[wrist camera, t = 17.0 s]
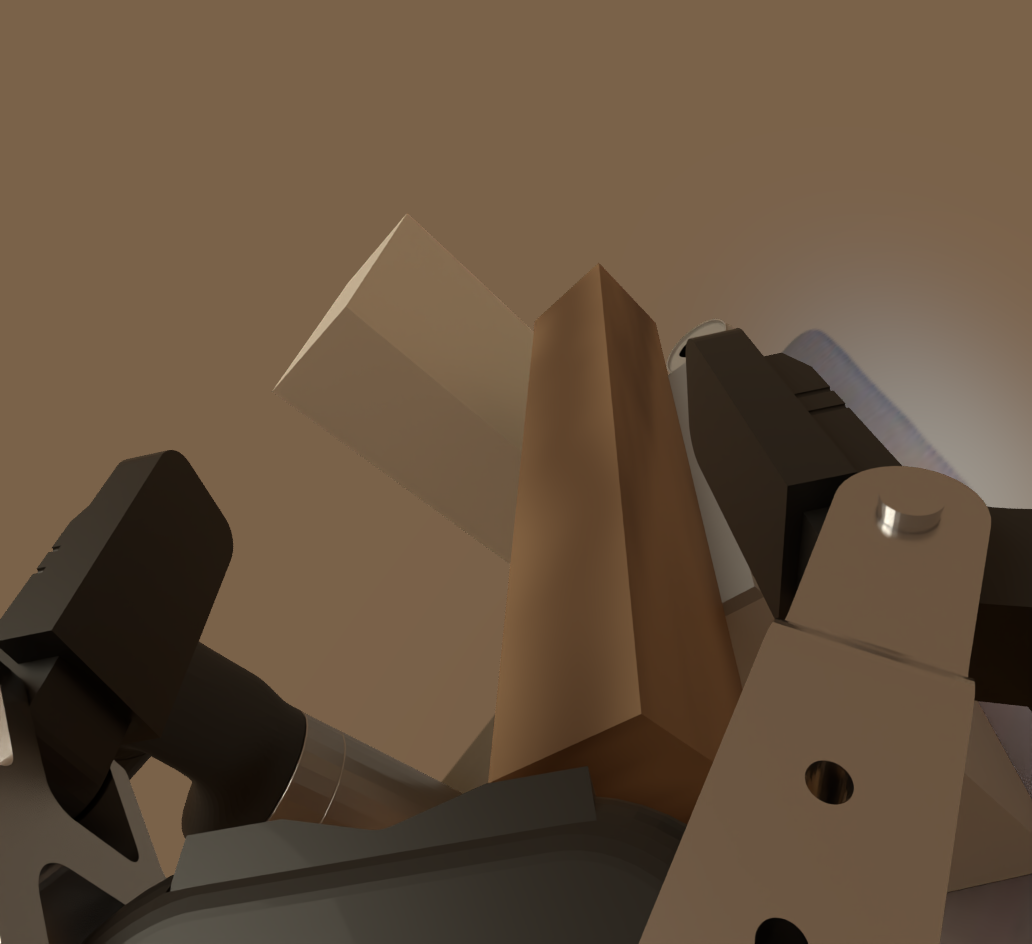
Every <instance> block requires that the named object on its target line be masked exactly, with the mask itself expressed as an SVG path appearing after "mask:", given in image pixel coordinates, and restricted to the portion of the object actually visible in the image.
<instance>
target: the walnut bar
mask: <svg viewBox="0 0 1032 944" xmlns="http://www.w3.org/2000/svg"><path fill="white" fill-rule="evenodd" d="M742 690H743V689H742V684H741V680H740V676H739V672H738V668H737V663H736V659H735V655H734V651H733V647H732V642H731V638H730V634H729V630H728V625H727V621H726V617H725V613H724V609H723V604H722V600H721V596H720V592H719V588H718V583H717V579H716V575H715V571H714V567H713V562H712V558H711V554H710V550H709V545H708V541H707V537H706V533H705V529H704V524H703V520H702V516H701V512H700V508H699V503H698V499H697V495H696V491H695V487H694V482H693V478H692V474H691V470H690V465H689V461H688V457H687V453H686V449H685V444H684V440H683V436H682V432H681V428H680V423H679V419H678V415H677V411H676V407H675V402H674V398H673V394H672V390H671V385H670V381H669V377H668V373H667V369H666V365H665V361H664V356H663V352H662V348H661V344H660V339H659V335H658V331H657V327H656V323H655V322H654V321H653V320H652V319H651V318H650V317H649V315H648V314H647V313H646V312H645V311H644V310H643V309H642V308H641V307H640V306H639V305H638V304H637V303H636V302H635V301H634V300H633V299H632V298H631V296H630V295H629V294H628V293H627V292H626V291H625V290H624V289H623V288H622V287H621V286H620V285H619V284H618V283H617V282H616V281H615V279H614V278H613V277H612V276H611V275H610V274H609V273H608V272H607V271H606V270H605V269H604V268H603V267H602V266H601V265H600V264H599V263H598V264H597V265H596V266H595V267H594V268H593V269H591V270H590V271H589V272H588V273H587V274H586V275H585V276H584V277H583V278H582V279H580V280H579V281H578V282H577V283H576V284H575V285H574V286H573V287H572V288H571V289H570V290H568V291H567V292H566V293H565V294H564V295H563V296H562V297H561V298H560V299H559V300H557V301H556V302H555V303H554V304H553V305H552V306H551V307H550V308H549V309H548V310H547V311H545V312H544V313H543V314H542V315H541V316H540V317H539V318H538V319H537V320H536V321H535V324H534V334H533V344H532V354H531V364H530V374H529V383H528V393H527V403H526V413H525V423H524V433H523V443H522V453H521V463H520V473H519V483H518V493H517V503H516V513H515V522H514V532H513V542H512V552H511V562H510V572H509V582H508V592H507V602H506V612H505V622H504V632H503V642H502V652H501V662H500V671H499V681H498V691H497V702H496V712H495V721H494V731H493V741H492V751H491V761H490V771H489V781H488V783H493V782H498V781H504V780H510V779H516V778H522V777H527V776H533V775H539V774H545V773H550V772H556V771H562V770H568V769H573V768H579V767H585V766H588V768H589V772H590V775H591V779H592V783H593V787H594V790H595V794H596V796H597V797H606V798H615V799H621V800H625V801H629V802H633V803H637V804H641V805H644V806H647V807H650V808H652V809H655V810H657V811H660V812H663V813H665V814H668V815H670V816H672V817H674V818H676V819H677V820H679V821H681V822H683V823H685V824H688V822H689V820H690V817H691V815H692V812H693V810H694V807H695V805H696V803H697V800H698V798H699V795H700V793H701V790H702V788H703V785H704V783H705V781H706V778H707V776H708V773H709V771H710V768H711V766H712V764H713V761H714V759H715V756H716V754H717V751H718V749H719V746H720V744H721V742H722V739H723V737H724V734H725V732H726V729H727V727H728V725H729V722H730V720H731V717H732V715H733V712H734V710H735V707H736V705H737V703H738V700H739V698H740V695H741V693H742Z"/></svg>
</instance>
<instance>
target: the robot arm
mask: <svg viewBox="0 0 1032 944" xmlns="http://www.w3.org/2000/svg"><path fill="white" fill-rule="evenodd" d="M686 374H687V395H688V415H689V430H690V437H691V442H692V447H693V451H694V454H695V457H696V460H697V463H698V465H699V467H700V469H701V471H702V473H703V475H704V477H705V479H706V481H707V483H708V485H709V487H710V489H711V491H712V493H713V495H714V497H715V499H716V501H717V503H718V505H719V507H720V510H721V512H722V514H723V516H724V518H725V520H726V522H727V524H728V526H729V528H730V530H731V532H732V534H733V536H734V538H735V540H736V542H737V544H738V546H739V548H740V550H741V552H742V554H743V556H744V558H745V560H746V562H747V564H748V566H749V568H750V570H751V572H752V574H753V576H754V578H755V580H756V582H757V584H758V586H759V588H760V590H761V593H762V595H763V597H764V599H765V601H766V603H767V605H768V607H769V609H770V611H771V613H772V615H773V617H774V619H775V620H774V621H773V622H772V624H771V625H770V627H769V629H768V631H767V633H766V635H765V637H764V639H763V642H762V644H761V647H760V649H759V651H758V654H757V656H756V659H755V661H754V664H753V666H752V668H751V671H750V673H749V676H748V678H747V681H746V683H745V686H744V688H743V690H742V693H741V695H740V698H739V700H738V703H737V705H736V707H735V710H734V712H733V715H732V717H731V720H730V722H729V725H728V727H727V729H726V732H725V734H724V737H723V739H722V742H721V744H720V746H719V749H718V751H717V754H716V756H715V759H714V761H713V764H712V766H711V768H710V771H709V773H708V776H707V778H706V781H705V783H704V785H703V788H702V790H701V793H700V795H699V798H698V800H697V803H696V805H695V807H694V810H693V812H692V815H691V817H690V820H689V822H688V824H685V823H683V822H681V821H679V820H677V819H676V818H674V817H672V816H670V815H668V814H665V813H663V812H660V811H657V810H655V809H652V808H650V807H647V806H644V805H641V804H637V803H633V802H629V801H625V800H621V799H615V798H606V797H597V796H596V794H595V790H594V787H593V783H592V779H591V775H590V772H589V768H588V766H585V767H579V768H573V769H568V770H562V771H556V772H550V773H545V774H539V775H533V776H527V777H522V778H516V779H510V780H504V781H498V782H493V783H487V784H484V785H482V786H480V787H478V788H475V789H473V790H471V791H469V792H466V793H464V794H463V793H461V792H459V791H457V790H455V789H453V788H451V787H449V786H447V785H446V784H444V783H442V782H440V781H438V780H436V779H434V778H432V777H430V776H428V775H426V774H424V773H422V772H420V771H418V770H416V769H414V768H412V767H410V766H408V765H406V764H404V763H402V762H400V761H398V760H396V759H394V758H392V757H390V756H389V755H386V754H384V753H383V752H381V751H379V750H377V749H375V748H373V747H371V746H369V745H367V744H365V743H363V742H361V741H359V740H357V739H355V738H353V737H351V736H349V735H347V734H345V733H343V732H341V731H339V730H337V729H335V728H333V727H331V726H329V725H327V724H325V723H323V722H321V721H319V720H317V719H315V718H313V717H312V716H310V715H308V714H306V713H304V712H302V711H300V710H299V709H297V708H294V707H293V706H291V705H289V704H288V703H286V702H285V701H283V700H282V699H281V698H280V697H279V696H278V695H277V694H276V693H275V692H274V691H273V690H272V689H271V688H270V687H269V686H268V685H267V684H266V683H265V682H264V681H262V680H261V679H260V678H259V677H257V676H256V675H254V674H252V673H251V672H249V671H247V670H246V669H244V668H242V667H240V666H239V665H237V664H235V663H233V662H232V661H230V660H229V659H227V658H225V657H224V656H222V655H220V654H218V653H217V652H215V651H213V650H212V649H210V648H208V647H207V646H205V645H204V644H202V643H200V642H199V639H200V636H201V634H202V631H203V629H204V626H205V624H206V621H207V619H208V616H209V614H210V611H211V609H212V606H213V603H214V601H215V598H216V596H217V593H218V591H219V588H220V586H221V583H222V581H223V578H224V576H225V573H226V571H227V568H228V566H229V563H230V561H231V557H232V553H233V539H232V534H231V530H230V527H229V524H228V522H227V520H226V519H225V517H224V516H223V514H222V513H221V511H220V509H219V508H218V506H217V505H216V503H215V502H214V500H213V499H212V497H211V496H210V494H209V492H208V491H207V489H206V488H205V486H204V485H203V483H202V482H201V480H200V479H199V477H198V475H197V474H196V472H195V471H194V469H193V468H192V466H191V465H190V463H189V462H188V461H187V459H186V458H185V457H184V456H183V455H182V454H181V453H179V452H177V451H174V450H168V451H163V452H158V453H154V454H149V455H145V456H140V457H135V458H131V459H126V460H124V461H122V462H120V463H119V465H118V466H117V467H116V469H115V470H114V471H113V473H112V474H111V476H110V477H109V478H108V480H107V481H106V483H105V484H104V485H103V487H102V488H101V490H100V491H99V493H98V494H97V495H96V497H95V498H94V500H93V501H92V502H91V504H90V505H89V506H88V507H87V508H86V509H85V510H83V511H82V512H81V513H80V514H79V515H78V516H77V517H76V518H74V519H73V520H72V521H71V522H70V523H69V525H68V526H67V527H66V529H65V530H64V532H63V533H62V534H61V536H60V537H59V539H58V540H57V541H56V543H55V544H54V546H53V547H52V548H53V552H49V553H48V554H47V555H46V557H45V558H44V559H43V561H42V562H41V564H40V565H39V566H38V568H37V570H38V573H36V574H33V575H32V576H31V577H30V579H29V580H28V582H27V583H26V584H25V586H24V587H23V589H22V590H21V592H20V593H19V594H18V595H17V597H16V598H15V600H14V601H13V603H12V604H11V605H10V607H9V608H8V609H7V611H6V612H5V614H4V615H3V616H2V618H1V619H0V944H940V937H941V930H942V923H943V916H944V909H945V902H946V895H947V888H948V881H949V875H950V868H951V861H952V854H953V847H954V840H955V833H956V826H957V819H958V812H959V805H960V798H961V791H962V784H963V777H964V770H965V763H966V756H967V750H968V743H969V736H970V729H971V722H972V715H973V707H974V701H983V702H992V703H1000V704H1009V705H1018V706H1027V707H1029V709H1030V710H1031V711H1032V509H1007V508H994V507H987V506H986V504H985V503H984V501H983V500H982V499H981V498H980V497H979V496H978V495H977V493H975V492H974V491H973V490H971V489H970V488H969V487H968V486H966V485H964V484H963V483H961V482H959V481H958V480H955V479H953V478H951V477H949V476H946V475H944V474H941V473H938V472H935V471H931V470H926V469H922V468H915V467H907V466H902V465H901V464H900V463H899V462H898V461H897V460H896V459H895V458H894V456H893V455H892V454H891V453H890V452H889V451H888V450H887V449H886V448H885V447H884V445H883V444H882V443H881V442H880V441H879V440H878V439H877V438H876V437H875V436H874V435H873V433H872V432H871V431H870V430H869V429H868V428H867V427H866V426H865V425H864V424H863V422H862V421H861V420H860V419H859V418H858V417H857V416H856V415H855V414H854V413H853V412H852V410H851V409H850V408H846V407H845V403H844V402H843V401H842V399H841V398H840V397H839V396H838V395H837V394H836V393H835V392H834V391H830V386H829V385H828V384H827V383H826V382H825V381H824V380H823V379H822V378H821V376H820V375H819V374H818V373H817V372H816V371H815V370H814V369H813V368H812V367H811V366H809V365H807V364H805V363H803V362H800V361H798V360H796V359H794V358H792V357H790V356H787V355H785V354H783V353H778V354H773V355H769V356H763V355H762V354H761V353H760V351H759V350H758V349H757V348H756V346H755V345H754V344H753V343H752V341H751V340H750V339H749V338H748V337H747V335H746V334H745V333H744V332H743V331H742V330H741V329H740V328H736V329H731V330H727V331H722V332H717V333H713V334H708V335H703V336H699V337H694V338H690V339H688V340H687V343H686ZM151 756H152V757H154V758H156V759H158V760H159V761H161V762H163V763H165V764H167V765H169V766H170V767H172V768H174V769H176V770H178V771H179V772H181V773H182V774H184V775H185V776H187V777H188V778H189V779H190V780H191V781H192V785H191V787H190V790H189V793H188V797H187V800H186V803H185V806H184V810H183V816H182V832H183V835H184V837H185V838H186V840H185V843H184V846H183V849H182V852H181V855H180V858H179V861H178V865H177V868H176V871H175V874H174V875H172V876H170V877H168V878H166V877H165V875H164V874H163V871H162V869H161V867H160V864H159V861H158V858H157V856H156V853H155V850H154V847H153V845H152V842H151V839H150V836H149V833H148V830H147V828H146V825H145V822H144V819H143V817H142V814H141V811H140V808H139V806H138V803H137V800H136V797H135V794H134V792H133V789H132V786H131V783H130V779H131V778H132V777H133V775H135V774H136V772H137V771H138V770H139V769H140V768H141V767H142V766H143V764H144V763H145V762H146V761H147V760H148V759H149V758H150V757H151Z"/></svg>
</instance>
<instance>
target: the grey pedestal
mask: <svg viewBox="0 0 1032 944" xmlns="http://www.w3.org/2000/svg"><path fill="white" fill-rule="evenodd" d="M668 377H669V381H670V385H671V390H672V394H673V398H674V402H675V407H676V411H677V415H678V419H679V423H680V428H681V432H682V436H683V440H684V444H685V449H686V453H687V457H688V461H689V465H690V470H691V474H692V478H693V482H694V487H695V491H696V495H697V499H698V503H699V508H700V512H701V516H702V520H703V524H704V529H705V533H706V537H707V541H708V545H709V550H710V554H711V558H712V562H713V567H714V571H715V575H716V579H717V583H718V588H719V592H720V596H721V600H722V604H723V609H724V613H725V617H726V621H727V625H728V630H729V634H730V638H731V642H732V647H733V651H734V655H735V659H736V663H737V668H738V672H739V676H740V680H741V684H742V689H743V688H744V686H745V683H746V681H747V678H748V676H749V673H750V671H751V668H752V666H753V664H754V661H755V659H756V656H757V654H758V651H759V649H760V647H761V644H762V642H763V639H764V637H765V635H766V633H767V631H768V629H769V627H770V625H771V624H772V622H773V621H774V620H775V619H774V617H773V615H772V613H771V611H770V609H769V607H768V605H767V603H766V601H765V599H764V597H763V595H762V593H761V590H760V588H759V586H758V584H757V582H756V580H755V578H754V576H753V574H752V572H751V570H750V568H749V566H748V564H747V562H746V560H745V558H744V556H743V554H742V552H741V550H740V548H739V546H738V544H737V542H736V540H735V538H734V536H733V534H732V532H731V530H730V528H729V526H728V524H727V522H726V520H725V518H724V516H723V514H722V512H721V510H720V507H719V505H718V503H717V501H716V499H715V497H714V495H713V493H712V491H711V489H710V487H709V485H708V483H707V481H706V479H705V477H704V475H703V473H702V471H701V469H700V467H699V465H698V463H697V460H696V457H695V454H694V451H693V447H692V442H691V437H690V430H689V415H688V395H687V374H686V362H685V363H684V364H683V365H681V366H680V367H679V368H677V369H676V370H675V371H673V372H672V373H671V374H669V375H668ZM1028 874H1032V799H1031V797H1030V795H1029V794H1028V792H1027V790H1026V788H1025V786H1024V784H1023V783H1022V781H1021V779H1020V777H1019V775H1018V774H1017V772H1016V770H1015V768H1014V766H1013V764H1012V763H1011V761H1010V759H1009V757H1008V755H1007V754H1006V752H1005V750H1004V748H1003V746H1002V745H1001V743H1000V741H999V739H998V737H997V735H996V734H995V732H994V730H993V728H992V726H991V725H990V723H989V721H988V719H987V717H986V716H985V714H984V712H983V710H982V708H981V706H980V705H979V703H978V701H974V707H973V715H972V722H971V729H970V736H969V743H968V750H967V756H966V763H965V770H964V777H963V784H962V791H961V798H960V805H959V812H958V819H957V826H956V833H955V840H954V847H953V854H952V861H951V868H950V875H949V881H948V888H947V892H951V891H955V890H960V889H964V888H969V887H973V886H978V885H983V884H987V883H992V882H996V881H1001V880H1005V879H1010V878H1014V877H1019V876H1023V875H1028Z"/></svg>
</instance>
